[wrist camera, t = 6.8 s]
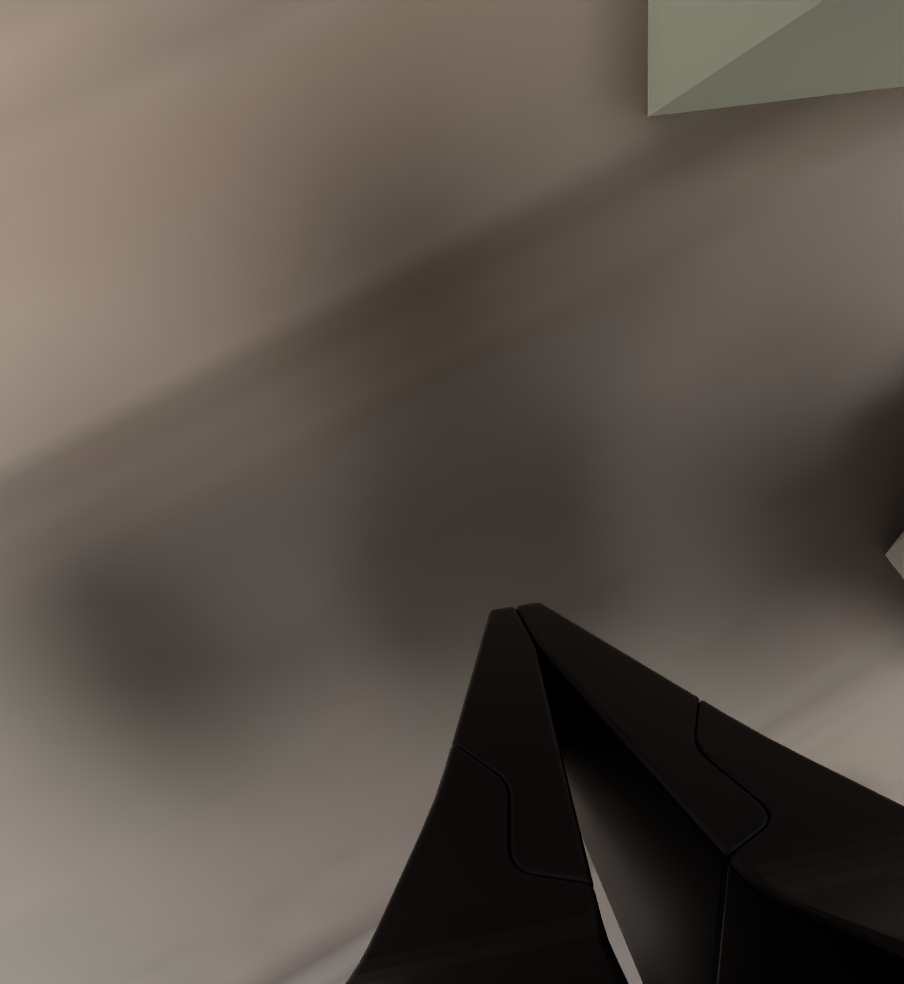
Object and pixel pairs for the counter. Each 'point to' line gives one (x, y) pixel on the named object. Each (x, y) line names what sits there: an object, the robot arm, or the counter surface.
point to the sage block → (769, 51)
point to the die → (897, 554)
